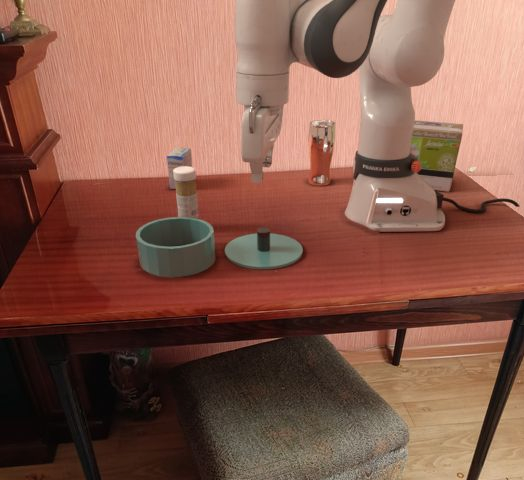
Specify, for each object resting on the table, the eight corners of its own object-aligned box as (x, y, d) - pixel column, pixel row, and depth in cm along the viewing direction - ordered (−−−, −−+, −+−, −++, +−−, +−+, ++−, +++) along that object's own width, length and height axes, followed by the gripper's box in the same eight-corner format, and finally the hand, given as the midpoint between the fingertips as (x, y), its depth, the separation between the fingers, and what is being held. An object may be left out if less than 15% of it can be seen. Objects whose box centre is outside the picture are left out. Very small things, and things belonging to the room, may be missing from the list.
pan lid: (306, 241, 110) (307, 217, 107) (297, 275, 98) (298, 249, 95) (234, 236, 112) (233, 212, 109) (216, 269, 100) (214, 244, 97)
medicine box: (177, 179, 143) (174, 147, 138) (193, 180, 143) (190, 147, 137) (169, 189, 137) (165, 155, 132) (186, 190, 136) (183, 156, 131)
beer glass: (334, 179, 142) (339, 120, 134) (328, 187, 137) (333, 127, 128) (310, 176, 144) (312, 118, 135) (303, 184, 139) (305, 125, 130)
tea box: (390, 187, 137) (399, 127, 128) (395, 175, 145) (403, 118, 136) (450, 192, 133) (463, 131, 125) (451, 180, 141) (463, 122, 132)
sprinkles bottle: (192, 225, 118) (187, 164, 110) (204, 231, 115) (199, 169, 107) (175, 230, 115) (168, 168, 107) (186, 236, 112) (180, 173, 104)
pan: (223, 248, 107) (221, 219, 104) (204, 282, 96) (201, 250, 92) (155, 243, 110) (151, 214, 106) (129, 276, 98) (123, 245, 94)
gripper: (271, 103, 79) (269, 194, 87) (289, 81, 95) (287, 159, 103) (230, 102, 80) (232, 191, 88) (255, 80, 96) (255, 157, 104)
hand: (262, 174), depth 96 cm, fingers open, 8 cm apart
